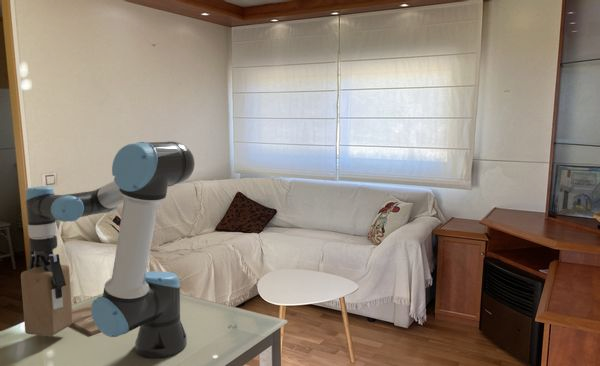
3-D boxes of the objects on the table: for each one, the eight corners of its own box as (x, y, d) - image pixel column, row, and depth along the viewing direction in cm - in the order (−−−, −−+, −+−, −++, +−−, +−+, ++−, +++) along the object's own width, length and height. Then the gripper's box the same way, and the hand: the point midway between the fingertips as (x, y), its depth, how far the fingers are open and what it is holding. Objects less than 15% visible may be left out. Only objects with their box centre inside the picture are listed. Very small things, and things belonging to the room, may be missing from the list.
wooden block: (51, 337, 140) (47, 273, 137) (23, 334, 142) (18, 272, 140) (74, 324, 149) (70, 264, 147) (48, 321, 151) (43, 262, 149)
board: (129, 320, 159) (129, 317, 159) (91, 335, 148) (91, 331, 148) (95, 306, 172) (94, 302, 172) (57, 318, 161) (57, 314, 161)
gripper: (75, 239, 138) (79, 308, 140) (37, 229, 152) (41, 292, 155) (49, 244, 132) (54, 316, 134) (12, 233, 146) (17, 298, 149)
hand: (47, 303), depth 145 cm, fingers closed on wooden block, 12 cm apart
